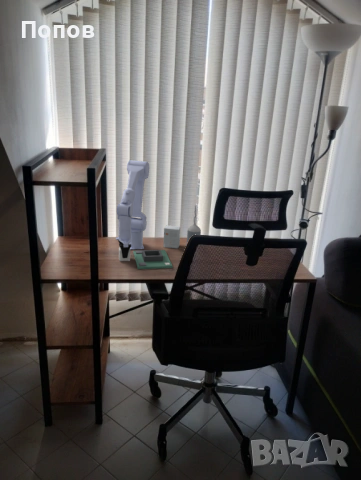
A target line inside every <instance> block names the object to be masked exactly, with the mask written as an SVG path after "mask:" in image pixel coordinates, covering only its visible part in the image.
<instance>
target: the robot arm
mask: <svg viewBox="0 0 361 480" xmlns="http://www.w3.org/2000/svg"><path fill="white" fill-rule="evenodd" d="M126 171H127V174H128V181H127V186H126V188H125V189H124V190H123V192H122V196H121V199H120V202H119V203H118V204H117V206H116V215H117V220H118V237H115V240H116V241H117V242H118V247H120V248H121V252H122V257H123V258H127V257H128V253H129V250H145V246H144V245H143V244H144V243H143V237H144V232H145V231H146V229H147V222H148V221H147V215H146V214H144V213H143V212H142V209H143V201H144V200H143V199H144V191H145V188H144V187H145V181H146V180H147V179H149V175H150V174H149V173H150V163H149V161H147V160H146V161H143V160H134V159H133V160H131V159H129V160H128V161H127V163H126Z"/></svg>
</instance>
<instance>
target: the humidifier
mask: <svg viewBox="0 0 361 480" xmlns="http://www.w3.org/2000/svg"><path fill="white" fill-rule="evenodd" d="M199 214H200V213H199V212H198V216H199ZM196 218H197V205H196V204H195V205H194V215H193V224H192V225H190V226H189V227H188V228H187V232H186V233H187V234H186V243H187V242H188V240H189V238H190V237H191V236H192V235H195V234H196V235H201V236H202V231H201V228H200V227H199V224H196V223H197V222H196ZM199 219H200V217H198V220H199ZM186 246H187V245H185V247H186Z"/></svg>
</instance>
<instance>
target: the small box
mask: <svg viewBox="0 0 361 480" xmlns="http://www.w3.org/2000/svg"><path fill="white" fill-rule="evenodd" d="M180 243H181V226H179V225H165V226H164V228H163V245H162V246H163V248H171V249H179V247H180Z"/></svg>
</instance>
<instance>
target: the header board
mask: <svg viewBox="0 0 361 480" xmlns="http://www.w3.org/2000/svg"><path fill="white" fill-rule="evenodd" d="M132 252H133V257H134V260H135V264H136V267H137V268H136V269H137V270H151V269H155V270H156V269H173V268H174V267H173V264H172V261H171V260H170V258H169V255H168V253H167V251H166V250H165V249H151V250H150V249H147V250H145V249H138V250H133V251H132Z"/></svg>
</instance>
